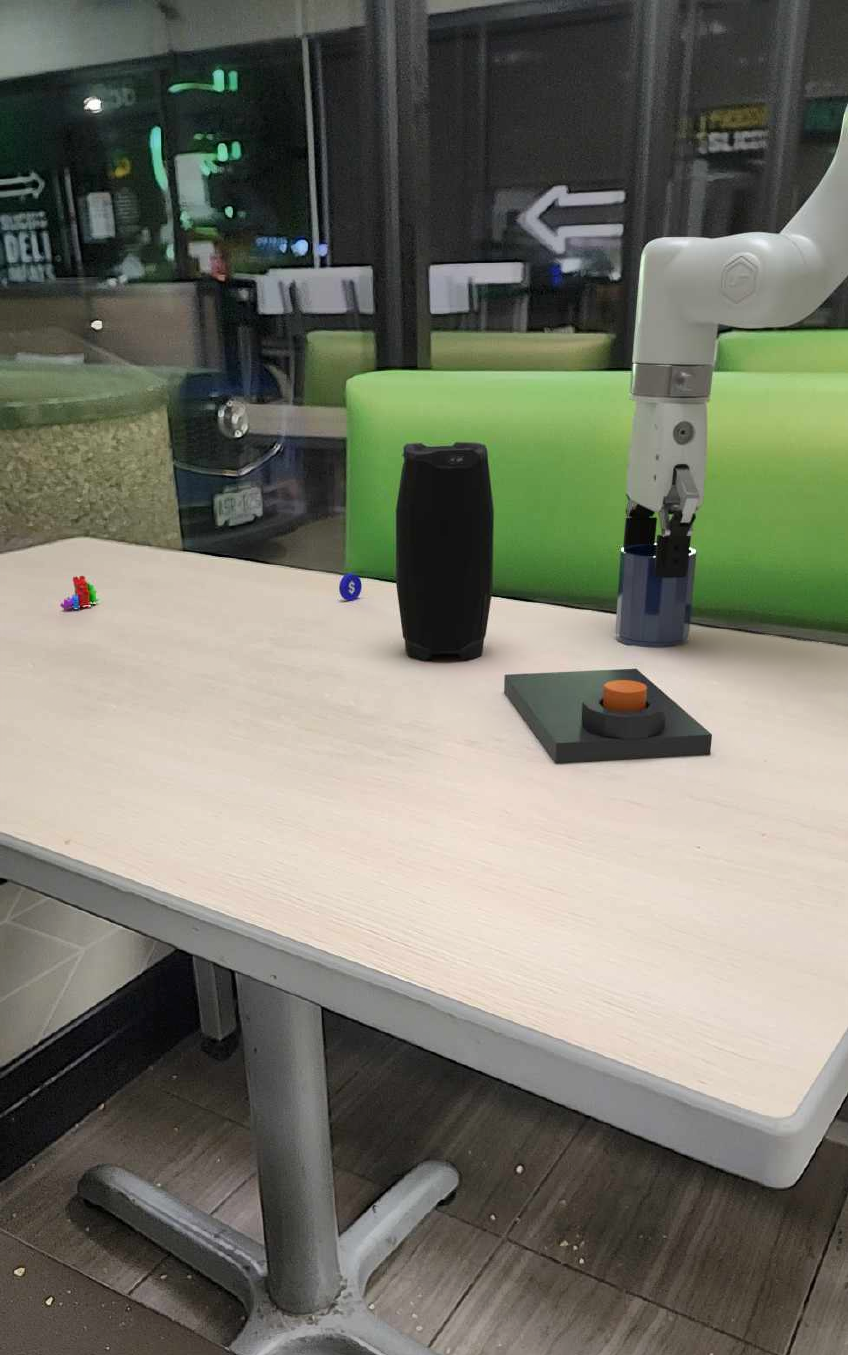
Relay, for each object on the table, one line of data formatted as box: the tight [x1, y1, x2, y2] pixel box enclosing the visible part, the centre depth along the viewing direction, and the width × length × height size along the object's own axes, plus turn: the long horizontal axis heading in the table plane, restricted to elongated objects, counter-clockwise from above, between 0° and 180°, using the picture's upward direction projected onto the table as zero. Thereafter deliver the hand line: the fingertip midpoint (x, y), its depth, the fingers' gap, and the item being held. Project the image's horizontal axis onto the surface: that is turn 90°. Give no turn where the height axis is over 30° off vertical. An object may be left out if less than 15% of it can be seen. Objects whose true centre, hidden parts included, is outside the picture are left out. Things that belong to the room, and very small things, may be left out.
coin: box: [338, 573, 363, 601], centre depth 134 cm, size 3×1×3 cm, turn 138°
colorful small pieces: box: [60, 575, 100, 611], centre depth 131 cm, size 5×3×4 cm, turn 131°
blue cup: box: [614, 543, 698, 649], centre depth 116 cm, size 7×7×9 cm
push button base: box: [503, 668, 713, 765], centre depth 93 cm, size 12×18×4 cm, turn 9°
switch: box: [603, 680, 647, 711], centre depth 87 cm, size 3×3×2 cm
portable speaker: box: [395, 441, 495, 662], centre depth 109 cm, size 9×9×20 cm
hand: (653, 566), depth 115 cm, fingers open, 9 cm apart
